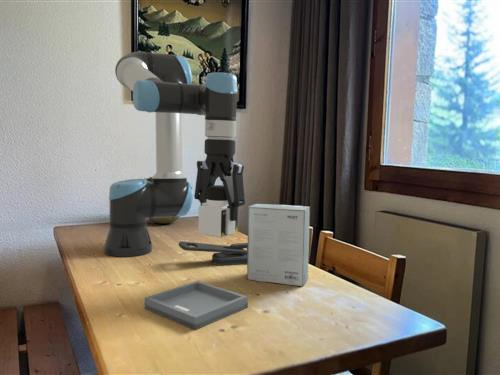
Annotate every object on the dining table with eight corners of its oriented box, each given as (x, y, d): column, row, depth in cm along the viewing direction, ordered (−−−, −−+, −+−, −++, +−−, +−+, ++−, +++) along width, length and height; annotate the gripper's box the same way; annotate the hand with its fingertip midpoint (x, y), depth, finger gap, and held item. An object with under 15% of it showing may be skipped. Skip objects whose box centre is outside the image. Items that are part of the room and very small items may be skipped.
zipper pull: (176, 240, 133) (253, 235, 142) (176, 262, 134) (252, 255, 143) (183, 247, 125) (264, 242, 134) (183, 270, 126) (263, 263, 135)
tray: (144, 308, 96) (144, 297, 96) (197, 290, 109) (197, 280, 109) (195, 329, 86) (195, 317, 86) (247, 307, 99) (247, 296, 98)
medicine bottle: (221, 238, 105) (222, 188, 104) (197, 234, 109) (198, 185, 108) (237, 233, 111) (239, 185, 110) (215, 229, 115) (215, 183, 114)
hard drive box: (308, 278, 120) (311, 206, 118) (302, 287, 113) (305, 210, 111) (254, 272, 125) (256, 202, 123) (245, 279, 118) (247, 206, 116)
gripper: (180, 137, 111) (179, 226, 114) (242, 139, 98) (239, 240, 101) (201, 137, 117) (200, 222, 119) (262, 140, 104) (259, 235, 107)
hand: (217, 230), depth 110 cm, fingers closed on medicine bottle, 7 cm apart
